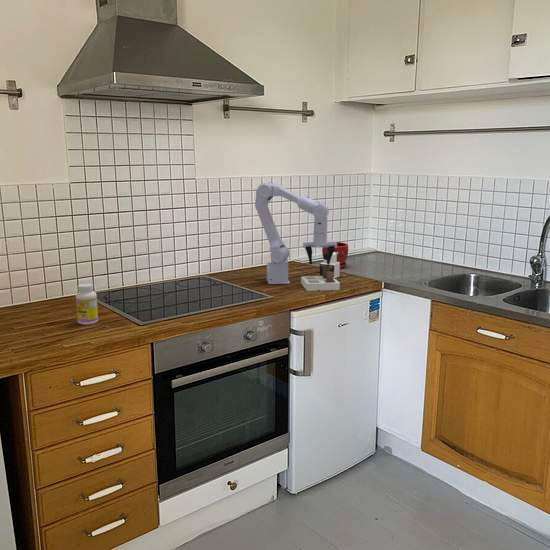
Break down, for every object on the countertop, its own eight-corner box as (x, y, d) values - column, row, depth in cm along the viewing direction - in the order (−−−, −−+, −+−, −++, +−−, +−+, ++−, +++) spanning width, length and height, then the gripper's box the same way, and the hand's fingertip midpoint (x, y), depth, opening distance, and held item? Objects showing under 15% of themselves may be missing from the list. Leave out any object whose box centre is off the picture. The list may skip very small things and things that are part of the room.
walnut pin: (325, 287, 237) (325, 271, 236) (331, 287, 238) (332, 271, 237) (327, 289, 235) (327, 272, 233) (334, 288, 235) (334, 272, 234)
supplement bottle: (73, 322, 186) (70, 285, 183) (89, 318, 191) (87, 281, 189) (86, 326, 182) (83, 288, 180) (102, 321, 188) (100, 284, 185)
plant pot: (316, 265, 284) (317, 242, 281) (339, 263, 289) (339, 241, 287) (330, 270, 272) (330, 246, 270) (352, 268, 278) (353, 244, 275)
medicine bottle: (319, 278, 255) (319, 252, 253) (325, 275, 261) (326, 250, 259) (333, 280, 252) (334, 253, 249) (339, 277, 258) (340, 251, 256)
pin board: (306, 290, 232) (307, 272, 230) (301, 283, 245) (301, 265, 243) (339, 290, 233) (340, 271, 232) (332, 282, 247) (332, 264, 245)
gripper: (305, 234, 233) (304, 265, 236) (339, 234, 234) (337, 265, 237) (302, 231, 240) (301, 262, 242) (335, 231, 241) (334, 262, 244)
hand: (319, 264), depth 240 cm, fingers open, 7 cm apart
